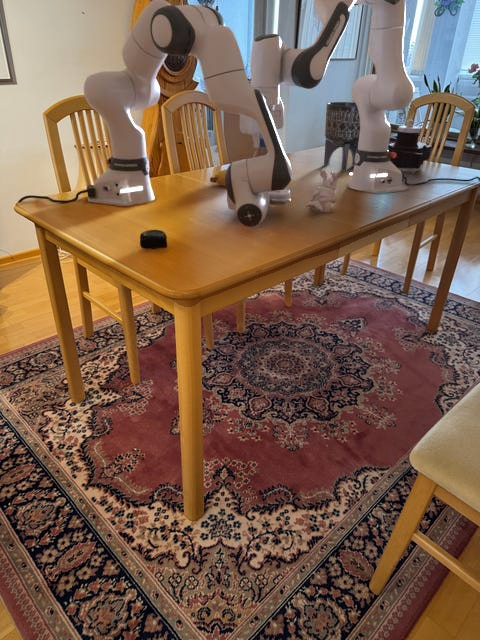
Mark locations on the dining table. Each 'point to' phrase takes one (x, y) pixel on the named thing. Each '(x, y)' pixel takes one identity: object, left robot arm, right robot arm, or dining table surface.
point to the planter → (341, 130)
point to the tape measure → (153, 239)
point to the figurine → (324, 194)
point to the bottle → (261, 151)
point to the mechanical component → (409, 148)
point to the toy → (219, 178)
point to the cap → (262, 142)
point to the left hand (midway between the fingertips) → (260, 189)
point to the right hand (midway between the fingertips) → (262, 146)
